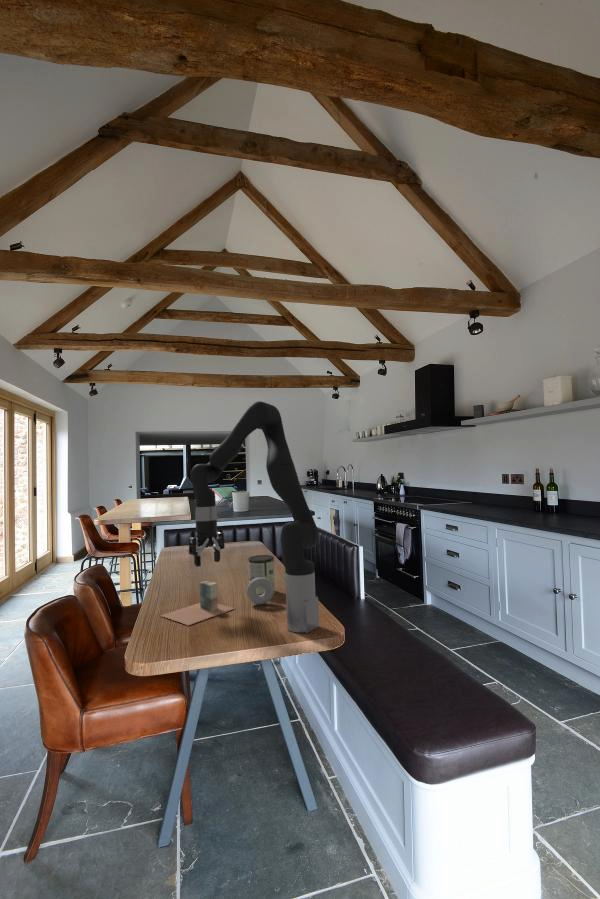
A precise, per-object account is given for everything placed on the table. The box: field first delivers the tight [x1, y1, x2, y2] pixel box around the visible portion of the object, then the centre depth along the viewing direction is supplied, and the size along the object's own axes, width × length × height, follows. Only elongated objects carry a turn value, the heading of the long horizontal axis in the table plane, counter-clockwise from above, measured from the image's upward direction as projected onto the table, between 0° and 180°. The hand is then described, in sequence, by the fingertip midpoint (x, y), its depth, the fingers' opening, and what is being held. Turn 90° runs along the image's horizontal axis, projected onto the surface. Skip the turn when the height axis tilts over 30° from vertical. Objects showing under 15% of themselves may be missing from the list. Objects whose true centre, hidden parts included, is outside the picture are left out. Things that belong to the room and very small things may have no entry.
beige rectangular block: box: [199, 580, 219, 611], centre depth 160 cm, size 6×3×9 cm, turn 51°
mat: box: [160, 602, 236, 627], centre depth 156 cm, size 16×20×1 cm
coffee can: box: [247, 554, 276, 595], centre depth 178 cm, size 10×10×14 cm
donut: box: [246, 577, 274, 605], centre depth 163 cm, size 10×3×10 cm, turn 98°
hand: (207, 563), depth 160 cm, fingers open, 8 cm apart
